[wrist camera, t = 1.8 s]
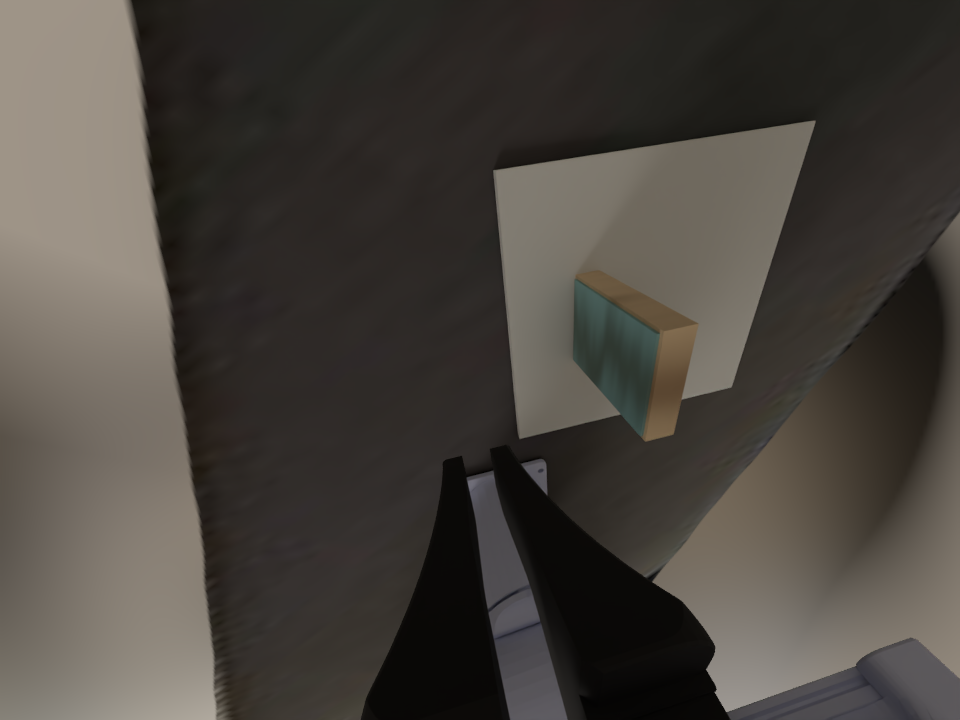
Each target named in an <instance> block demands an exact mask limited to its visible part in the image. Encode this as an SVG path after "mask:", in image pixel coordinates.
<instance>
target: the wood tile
mask: <svg viewBox="0 0 960 720" xmlns="http://www.w3.org/2000/svg"><path fill="white" fill-rule="evenodd" d="M698 325H699V324H698V323H696V322H695V321H693V320H691V319H689V318H687V317H685V316H684V315H682V314H680V313H678V312H676V311H674V310H672V309H671V308H669V307H667V306H665V305H663V304H661V303H659V302H658V301H656V300H654V299H652V298H650V297H648V296H646V295H645V294H643V293H641V292H639V291H637V290H635V289H633V288H632V287H630V286H628V285H626V284H624V283H622V282H620V281H619V280H617V279H615V278H613V277H611V276H609V275H607V274H606V273H604V272H602V271H600V270H597V271H592V272H587V273H582V274H576V275H575V280H574V336H573V360H574V361H575V363H576V364H577V365H578V366H579V367H580V368H581V369H582V371H583V372H584V373H585V374H586V375H587V376H588V377H589V379H590V380H591V381H592V382H593V383H594V384H595V385H596V387H597V388H598V389H599V390H600V391H601V392H602V393H603V395H604V396H605V397H606V398H607V399H608V400H609V401H610V402H611V404H612V405H613V406H614V407H615V408H616V409H617V410H618V412H619V413H620V414H621V415H622V416H623V417H624V418H625V420H626V421H627V422H628V423H629V424H630V425H631V426H632V428H633V429H634V430H635V431H636V432H637V433H638V434H639V436H641V437H642V439H643V440H644V441H645V442H646V441H650V440H654V439H657V438H661V437H665V436H669V435H673V434H674V430H675V426H676V421H677V417H678V412H679V408H680V404H681V399H682V395H683V390H684V386H685V382H686V377H687V373H688V369H689V364H690V360H691V355H692V351H693V347H694V342H695V338H696V333H697V329H698Z"/></svg>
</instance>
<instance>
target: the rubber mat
mask: <svg viewBox="0 0 960 720" xmlns="http://www.w3.org/2000/svg"><path fill="white" fill-rule="evenodd" d="M815 122H816V121H808V122H801V123H794V124H788V125H782V126H775V127H769V128H762V129H756V130H749V131H743V132H737V133H730V134H724V135H717V136H711V137H704V138H698V139H692V140H685V141H679V142H672V143H666V144H659V145H653V146H647V147H640V148H634V149H627V150H621V151H614V152H608V153H602V154H595V155H589V156H582V157H576V158H569V159H563V160H557V161H550V162H544V163H537V164H531V165H525V166H518V167H512V168H505V169H499V170H493V173H494V184H495V194H496V205H497V216H498V227H499V237H500V248H501V259H502V269H503V280H504V291H505V302H506V312H507V323H508V334H509V344H510V355H511V366H512V377H513V387H514V398H515V409H516V419H517V430H518V436H519V438H520V439H522V438H526V437H530V436H534V435H538V434H542V433H546V432H550V431H554V430H559V429H563V428H567V427H571V426H575V425H579V424H583V423H587V422H591V421H595V420H600V419H604V418H608V417H612V416H616V415H620V413H619V412H618V410H617V409H616V408H615V407H614V406H613V405H612V404H611V402H610V401H609V400H608V399H607V398H606V397H605V396H604V395H603V393H602V392H601V391H600V390H599V389H598V388H597V387H596V385H595V384H594V383H593V382H592V381H591V380H590V379H589V377H588V376H587V375H586V374H585V373H584V372H583V371H582V369H581V368H580V367H579V366H578V365H577V364H576V363H575V361H574V360H573V336H574V280H575V275H576V274H582V273H587V272H592V271H597V270H600V271H602V272H604V273H606V274H607V275H609V276H611V277H613V278H615V279H617V280H619V281H620V282H622V283H624V284H626V285H628V286H630V287H632V288H633V289H635V290H637V291H639V292H641V293H643V294H645V295H646V296H648V297H650V298H652V299H654V300H656V301H658V302H659V303H661V304H663V305H665V306H667V307H669V308H671V309H672V310H674V311H676V312H678V313H680V314H682V315H684V316H685V317H687V318H689V319H691V320H693V321H695V322H696V323H698V324H699V325H698V329H697V333H696V338H695V342H694V347H693V351H692V355H691V360H690V364H689V369H688V373H687V377H686V382H685V386H684V390H683V395H682V399H686V398H690V397H694V396H698V395H702V394H706V393H710V392H714V391H718V390H722V389H726V388H731V387H732V384H733V381H734V378H735V375H736V372H737V368H738V365H739V362H740V359H741V356H742V353H743V349H744V346H745V343H746V340H747V337H748V334H749V330H750V327H751V324H752V321H753V318H754V315H755V312H756V308H757V305H758V302H759V299H760V296H761V293H762V289H763V286H764V283H765V280H766V277H767V274H768V270H769V267H770V264H771V261H772V258H773V255H774V252H775V248H776V245H777V242H778V239H779V236H780V233H781V229H782V226H783V223H784V220H785V217H786V214H787V210H788V207H789V204H790V201H791V198H792V195H793V192H794V188H795V185H796V182H797V179H798V176H799V173H800V169H801V166H802V163H803V160H804V157H805V154H806V150H807V147H808V144H809V141H810V138H811V135H812V132H813V128H814V125H815Z"/></svg>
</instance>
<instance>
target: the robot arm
mask: <svg viewBox="0 0 960 720" xmlns="http://www.w3.org/2000/svg"><path fill="white" fill-rule="evenodd" d="M490 452H491V459H492V465H493V471H490V472H486V473H482V474H478V475H474V476H470V477H466V472H465V468H464V463H463V459H462V456H459V457H455V458H451V459H447V460H445V461H444V462H443V477H442V487H441V494H440V500H439V505H438V511H437V516H436V521H435V525H434V529H433V533H432V537H431V541H430V545H429V548H428V552H427V555H426V558H425V561H424V565H423V568H422V571H421V574H420V577H419V579H418V582H417V585H416V588H415V591H414V593H413V596H412V599H411V601H410V604H409V606H408V609H407V611H406V614H405V616H404V618H403V621H402V623H401V625H400V628H399V630H398V632H397V635H396V637H395V639H394V642H393V644H392V646H391V648H390V650H389V653H388V655H387V657H386V659H385V661H384V663H383V665H382V667H381V669H380V671H379V673H378V675H377V677H376V679H375V681H374V683H373V685H372V687H371V689H370V691H369V693H368V695H367V698H366V701H365V705H364V709H363V713H362V717H361V720H960V679H959V678H958V677H957V676H956V675H955V674H954V673H953V672H952V671H950V670H949V669H948V668H947V667H946V666H945V665H944V664H943V663H942V662H941V661H940V660H939V659H938V658H936V657H935V656H934V655H933V654H932V653H931V652H930V651H929V650H928V649H927V648H926V647H924V646H923V645H922V644H921V643H920V642H919V641H918V640H916V639H913V638H909V639H906V640H903V641H900V642H897V643H894V644H892V645H889V646H886V647H883V648H880V649H878V650H875V651H873V652H871V653H869V654H867V655H866V656H864V657H863V658H861V659H860V660H859V661H858V662H857V664H856V666H855V667H852V668H850V669H847V670H844V671H841V672H838V673H836V674H833V675H830V676H827V677H824V678H822V679H819V680H816V681H814V682H810V683H808V684H805V685H802V686H799V687H796V688H794V689H791V690H788V691H785V692H782V693H780V694H777V695H774V696H771V697H768V698H766V699H763V700H760V701H757V702H754V703H752V704H749V705H746V706H743V707H740V708H738V709H735V710H732V711H729V712H726V711H725V709H724V708H723V706H722V704H721V702H720V701H719V699H718V697H717V696H716V694H715V691H716V690H717V689H716V686H715V684H714V682H713V681H712V679H711V677H710V676H709V674H708V672H707V671H706V668H707V667H708V665H709V663H710V662H711V660H712V658H713V656H714V653H715V645H714V643H713V641H712V640H711V639H710V637H709V635H708V634H707V632H706V631H705V629H704V628H703V626H702V625H701V624H700V623H699V621H698V620H697V619H696V618H695V616H694V615H693V614H692V613H691V611H690V610H689V609H688V608H687V607H686V605H685V604H684V603H683V602H682V601H681V600H679V599H678V598H676V597H675V596H673V595H671V594H670V593H668V592H667V591H665V590H663V589H662V588H660V587H659V586H657V585H656V584H654V583H653V582H651V581H650V580H648V579H647V578H645V577H644V576H642V575H641V574H639V573H638V572H637V571H635V570H634V569H632V568H631V567H629V566H628V565H627V564H625V563H624V562H623V561H621V560H620V559H619V558H617V557H616V556H615V555H613V554H612V553H611V552H609V551H608V550H607V549H606V548H604V547H603V546H602V545H600V544H599V543H598V542H597V541H595V540H594V539H593V538H592V537H591V536H589V535H588V534H587V533H586V532H585V531H584V530H582V529H581V528H580V527H579V526H578V525H577V524H576V523H575V522H574V521H572V520H571V519H570V518H569V517H568V516H567V515H566V514H565V513H564V512H563V511H562V510H561V509H560V508H559V507H558V506H557V505H556V504H555V503H554V502H553V501H552V500H551V499H550V498H549V497H548V496H547V470H546V463H545V461H544V460H543V459H538V460H534V461H530V462H526V463H522V464H521V463H520V462H519V461H518V459H517V458H516V456H515V455H514V453H513V452H512V450H511V449H510V447H509V446H507V445H504V446H500V447H496V448H492V449H490Z"/></svg>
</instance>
